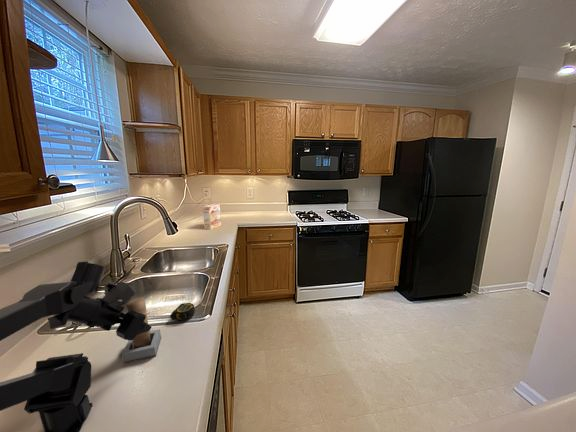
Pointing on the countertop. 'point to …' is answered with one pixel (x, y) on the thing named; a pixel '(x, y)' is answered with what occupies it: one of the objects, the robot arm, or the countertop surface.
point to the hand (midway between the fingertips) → (140, 324)
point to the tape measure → (183, 311)
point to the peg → (140, 307)
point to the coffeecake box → (212, 216)
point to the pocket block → (142, 349)
